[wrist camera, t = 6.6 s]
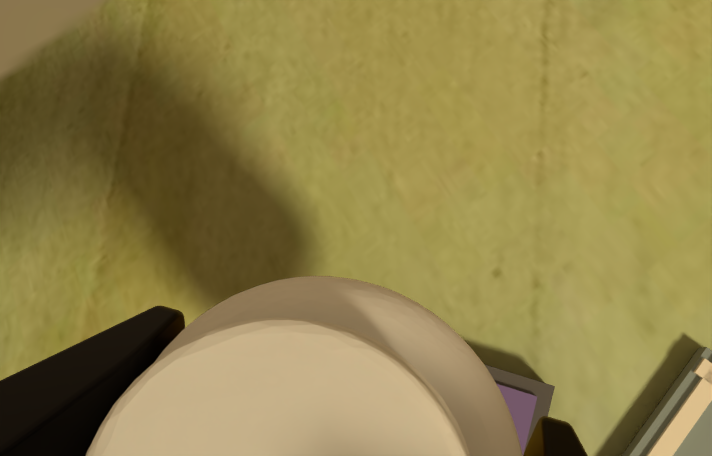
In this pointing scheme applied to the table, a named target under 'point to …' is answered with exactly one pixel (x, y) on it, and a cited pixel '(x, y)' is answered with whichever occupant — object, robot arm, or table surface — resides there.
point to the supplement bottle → (312, 381)
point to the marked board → (681, 415)
